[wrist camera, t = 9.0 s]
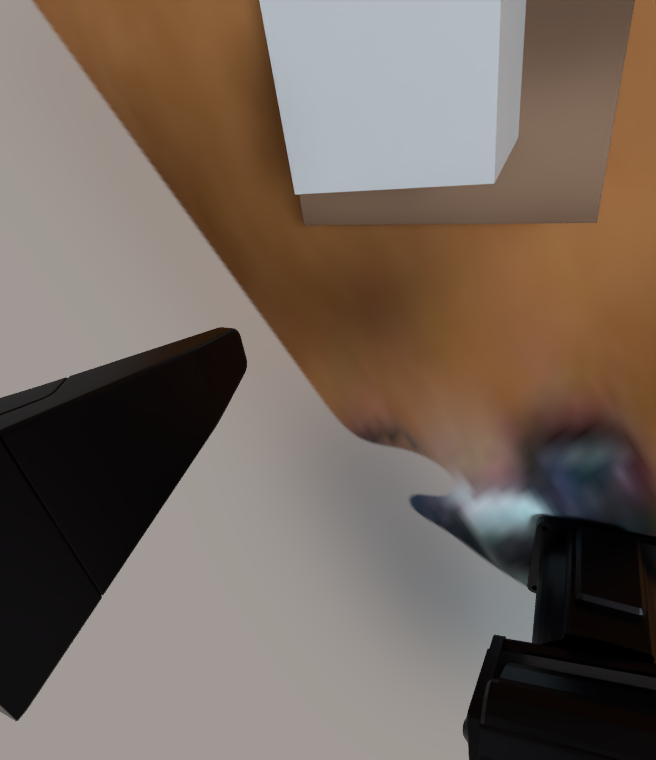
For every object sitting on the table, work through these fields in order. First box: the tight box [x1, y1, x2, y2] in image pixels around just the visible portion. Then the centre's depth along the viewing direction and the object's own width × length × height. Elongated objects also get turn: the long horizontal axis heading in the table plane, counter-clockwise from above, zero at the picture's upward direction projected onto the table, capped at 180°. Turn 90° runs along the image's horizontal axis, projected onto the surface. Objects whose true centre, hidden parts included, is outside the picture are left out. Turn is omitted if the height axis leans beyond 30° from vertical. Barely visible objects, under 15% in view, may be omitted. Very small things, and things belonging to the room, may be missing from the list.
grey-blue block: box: [259, 0, 526, 194], centre depth 12 cm, size 5×5×5 cm
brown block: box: [299, 0, 635, 225], centre depth 15 cm, size 10×10×3 cm
